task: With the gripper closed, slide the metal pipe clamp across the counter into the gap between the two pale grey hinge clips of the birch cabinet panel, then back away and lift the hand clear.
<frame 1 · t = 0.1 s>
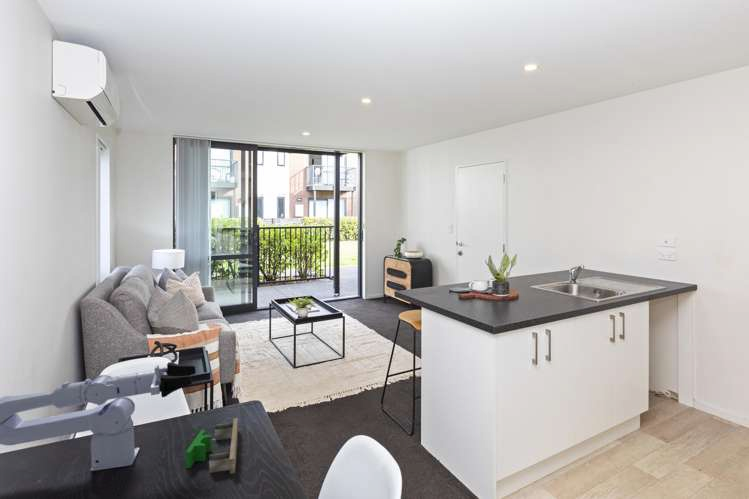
hand: (193, 374, 114), 22 cm above the table, tool horizontal, fingers open, 7 cm apart
hinge panel: (213, 453, 114), on the table
pipe clamp: (200, 456, 113), on the table
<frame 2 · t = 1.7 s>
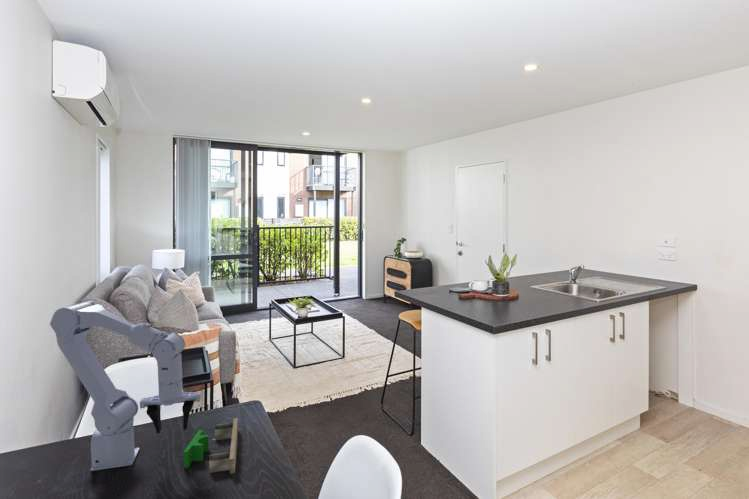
hand: (172, 429, 110), 8 cm above the table, tool pointing down, fingers open, 6 cm apart
nothing on the table moved.
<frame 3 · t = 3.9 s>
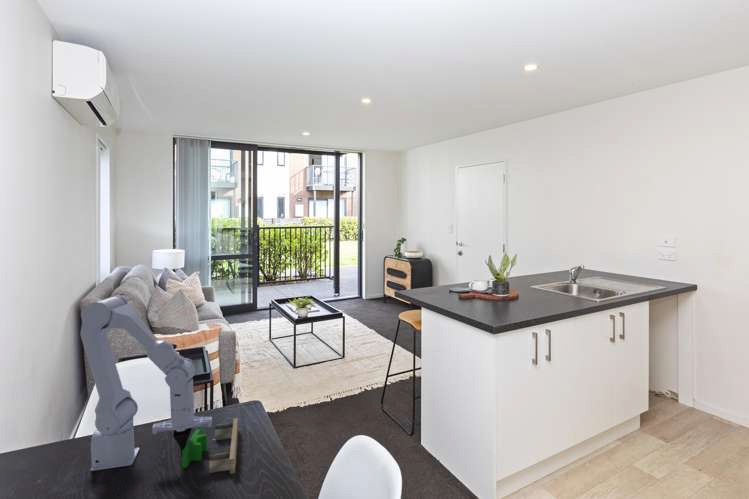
hand: (184, 454, 111), 1 cm above the table, tool pointing down, fingers closed, pressing on pipe clamp
pipe clamp: (196, 456, 113), on the table, touching gripper
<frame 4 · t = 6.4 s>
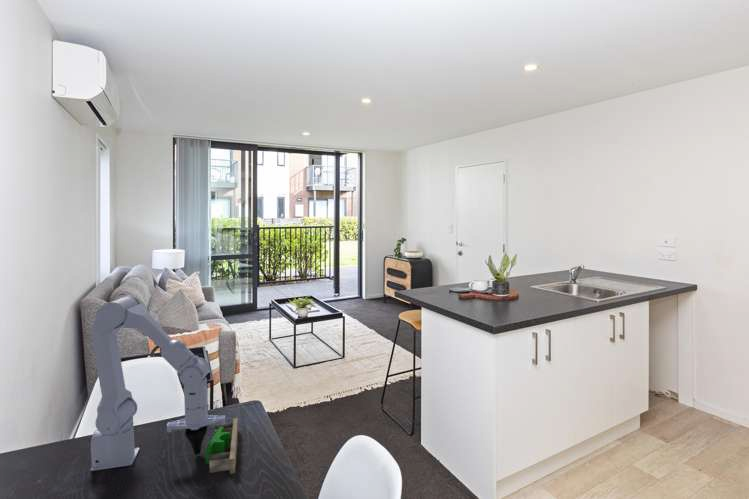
hand: (197, 452, 112), 1 cm above the table, tool pointing down, fingers closed
pipe clamp: (219, 453, 114), on the table
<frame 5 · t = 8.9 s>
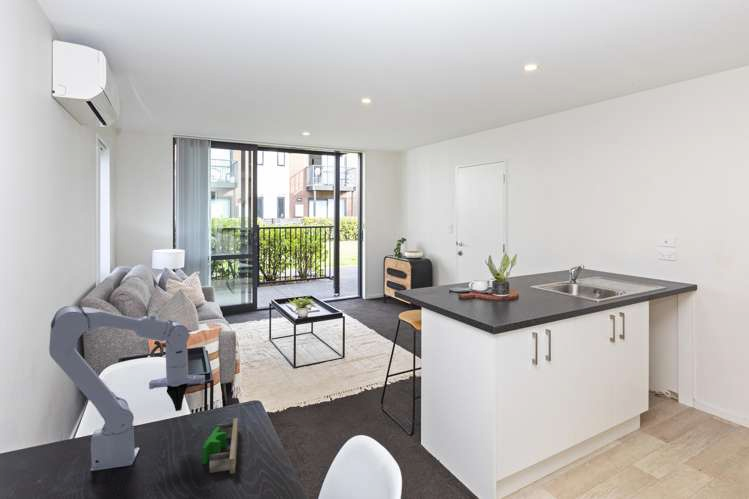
hand: (178, 409, 120), 9 cm above the table, tool pointing down, fingers closed
pipe clamp: (215, 453, 114), on the table
at the end: pipe clamp 2.7 cm from the target spot on the hinge panel, point 0.0 cm above the hinge panel's base; pipe clamp moved 3.7 cm from its start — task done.
